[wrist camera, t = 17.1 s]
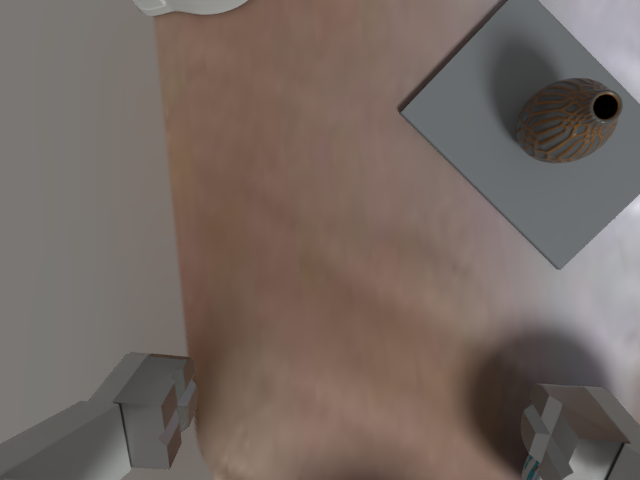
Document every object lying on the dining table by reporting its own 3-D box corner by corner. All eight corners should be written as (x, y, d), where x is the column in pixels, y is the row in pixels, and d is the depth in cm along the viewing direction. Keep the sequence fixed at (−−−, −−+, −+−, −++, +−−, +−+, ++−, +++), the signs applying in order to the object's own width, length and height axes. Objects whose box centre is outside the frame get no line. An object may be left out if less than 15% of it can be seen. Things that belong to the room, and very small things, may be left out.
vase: (509, 91, 36) (565, 53, 28) (582, 97, 36) (662, 61, 28) (499, 164, 37) (552, 150, 28) (572, 170, 37) (647, 158, 28)
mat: (399, 113, 37) (400, 112, 37) (519, -12, 36) (522, -16, 36) (556, 269, 38) (560, 269, 38) (679, 151, 37) (685, 150, 36)
